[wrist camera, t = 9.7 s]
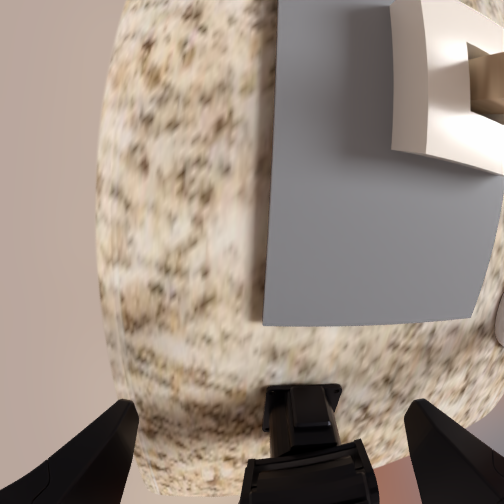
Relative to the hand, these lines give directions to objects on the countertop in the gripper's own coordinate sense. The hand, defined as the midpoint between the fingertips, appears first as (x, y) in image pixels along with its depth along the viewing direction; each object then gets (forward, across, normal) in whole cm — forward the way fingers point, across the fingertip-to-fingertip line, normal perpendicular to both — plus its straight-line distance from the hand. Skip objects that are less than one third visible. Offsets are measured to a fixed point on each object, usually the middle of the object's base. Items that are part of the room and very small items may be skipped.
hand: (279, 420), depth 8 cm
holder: (+11, -12, -13) cm, 21 cm away
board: (+12, -9, -8) cm, 17 cm away
